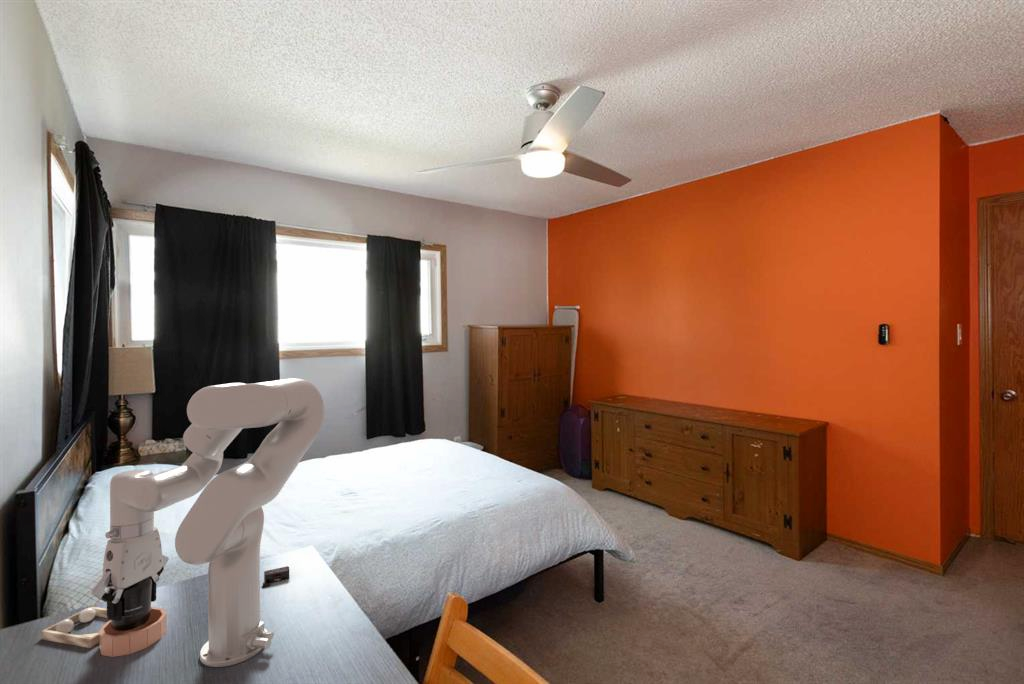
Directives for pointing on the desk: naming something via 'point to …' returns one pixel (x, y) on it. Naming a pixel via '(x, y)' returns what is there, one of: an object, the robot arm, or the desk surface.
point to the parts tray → (72, 639)
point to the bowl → (133, 635)
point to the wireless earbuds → (275, 576)
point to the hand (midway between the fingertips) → (132, 608)
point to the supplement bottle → (134, 606)
